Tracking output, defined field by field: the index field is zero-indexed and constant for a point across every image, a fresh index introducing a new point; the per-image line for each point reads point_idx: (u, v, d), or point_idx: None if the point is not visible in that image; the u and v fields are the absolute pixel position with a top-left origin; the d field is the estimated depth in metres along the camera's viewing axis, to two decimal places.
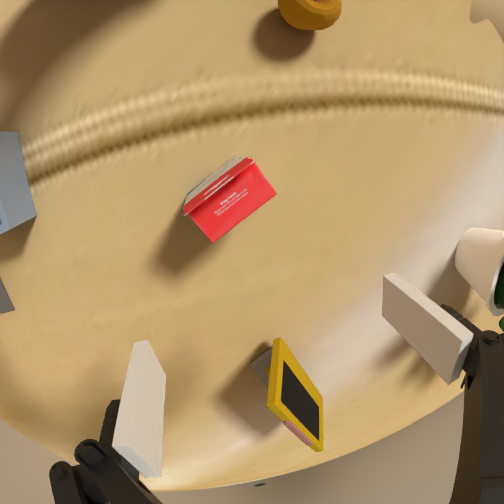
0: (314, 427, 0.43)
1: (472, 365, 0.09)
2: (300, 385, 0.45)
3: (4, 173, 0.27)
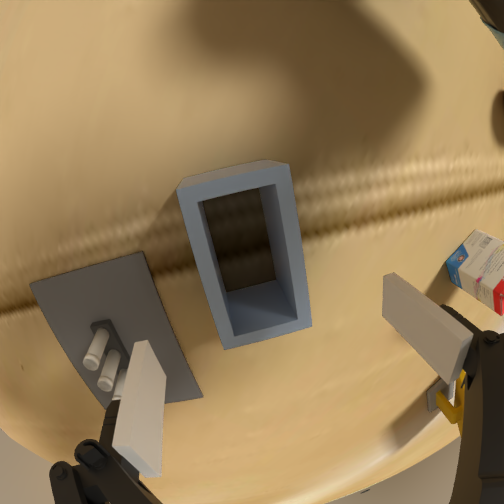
0: None
1: (472, 365, 0.09)
2: None
3: None
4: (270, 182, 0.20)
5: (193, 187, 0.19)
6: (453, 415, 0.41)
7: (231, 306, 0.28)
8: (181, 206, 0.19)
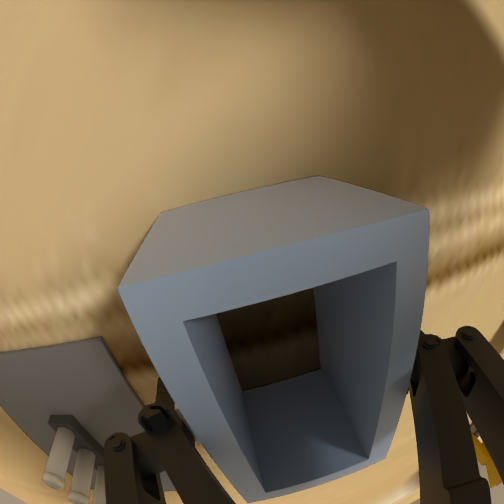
0: None
1: (414, 371, 0.10)
2: None
3: None
4: (386, 258, 0.07)
5: (168, 282, 0.06)
6: (486, 459, 0.28)
7: (254, 425, 0.15)
8: (140, 331, 0.06)
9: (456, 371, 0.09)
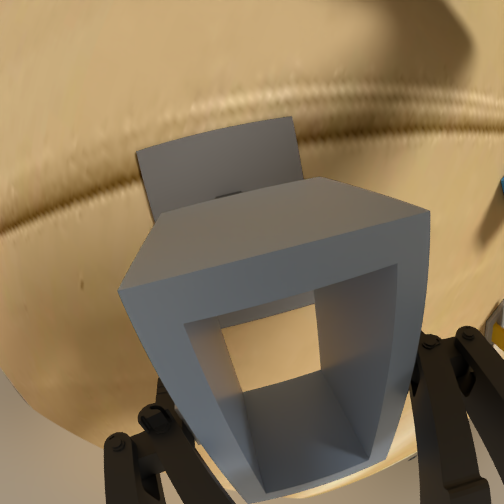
0: None
1: (414, 371, 0.10)
2: None
3: None
4: (387, 260, 0.07)
5: (169, 284, 0.06)
6: None
7: (254, 426, 0.15)
8: (140, 333, 0.06)
9: (456, 371, 0.09)
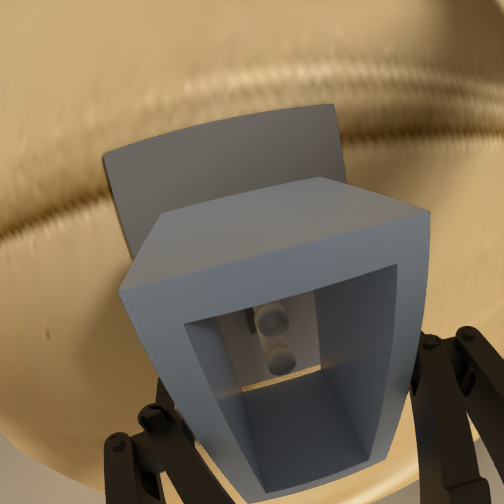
0: None
1: (414, 371, 0.10)
2: None
3: None
4: (387, 260, 0.07)
5: (169, 284, 0.06)
6: None
7: (254, 426, 0.15)
8: (140, 333, 0.06)
9: (456, 371, 0.09)
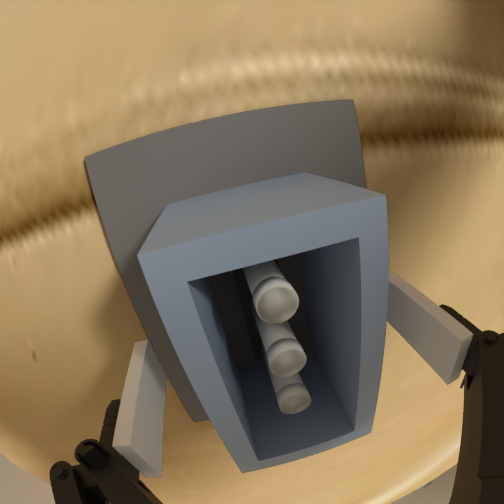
0: None
1: (472, 365, 0.09)
2: None
3: None
4: (349, 234, 0.09)
5: (177, 249, 0.08)
6: None
7: (249, 400, 0.17)
8: (153, 290, 0.08)
9: None
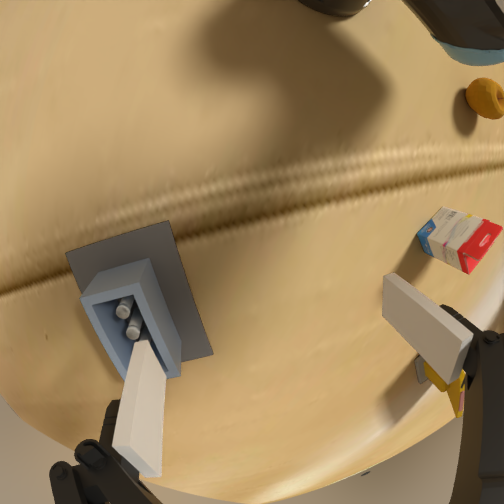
0: None
1: (472, 365, 0.09)
2: None
3: (160, 320, 0.34)
4: (129, 293, 0.30)
5: (88, 297, 0.29)
6: (441, 381, 0.49)
7: None
8: (84, 307, 0.29)
9: None
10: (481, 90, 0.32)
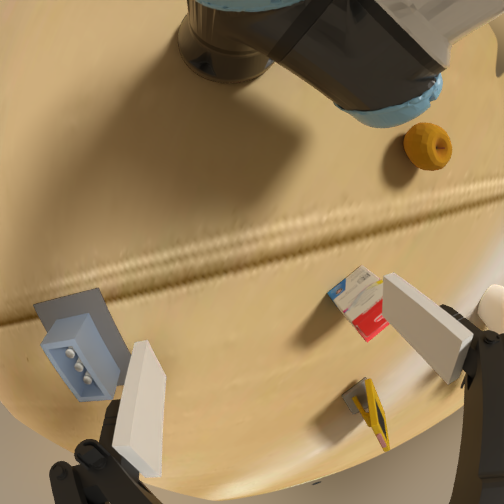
0: (385, 434, 0.56)
1: (472, 365, 0.09)
2: (378, 407, 0.58)
3: (95, 360, 0.41)
4: (70, 345, 0.37)
5: (45, 344, 0.37)
6: (364, 419, 0.56)
7: None
8: None
9: None
10: (415, 141, 0.38)
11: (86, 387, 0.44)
